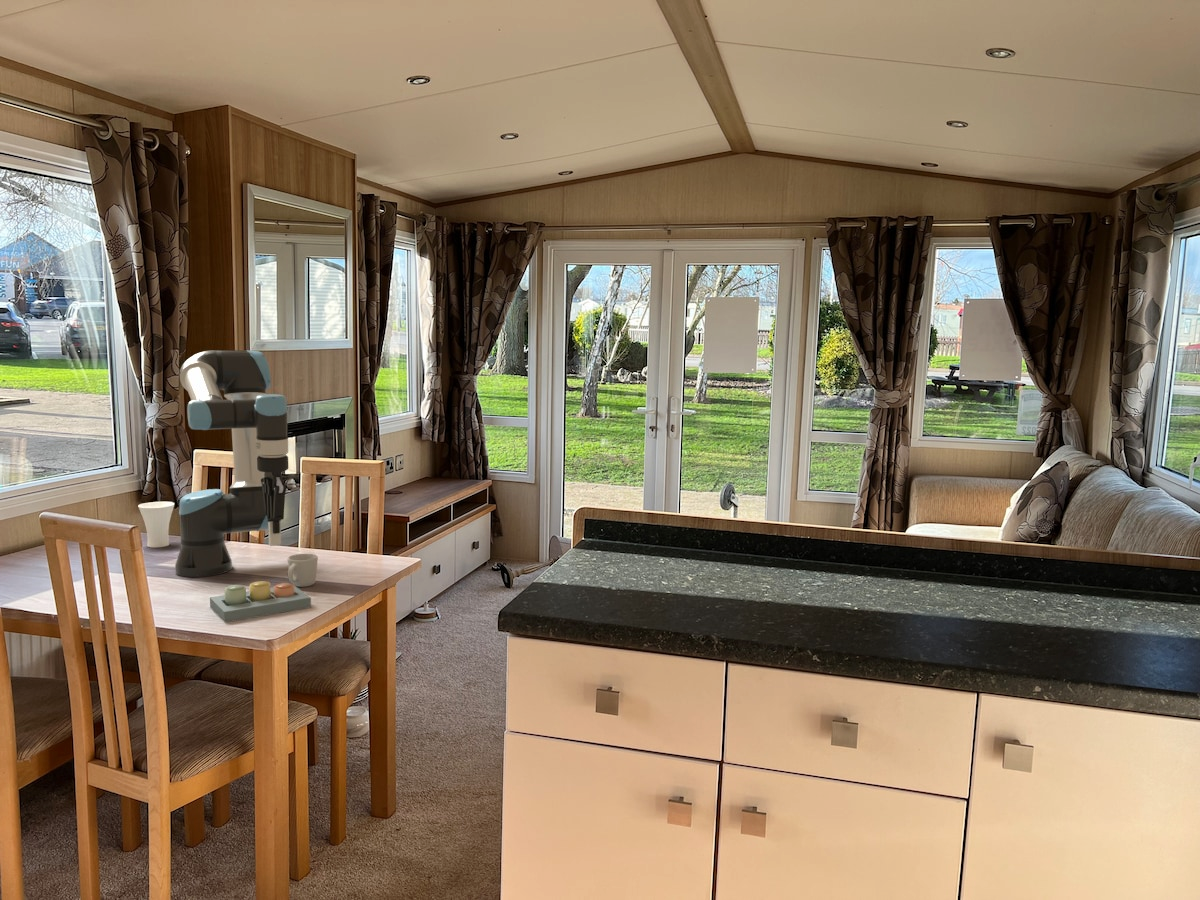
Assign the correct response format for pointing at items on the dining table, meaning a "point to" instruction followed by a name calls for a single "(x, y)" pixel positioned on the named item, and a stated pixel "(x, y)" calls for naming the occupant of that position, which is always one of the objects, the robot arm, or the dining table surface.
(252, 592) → the button ochre
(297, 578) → the cup
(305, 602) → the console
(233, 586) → the button sage
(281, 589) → the button terracotta
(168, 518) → the cup
